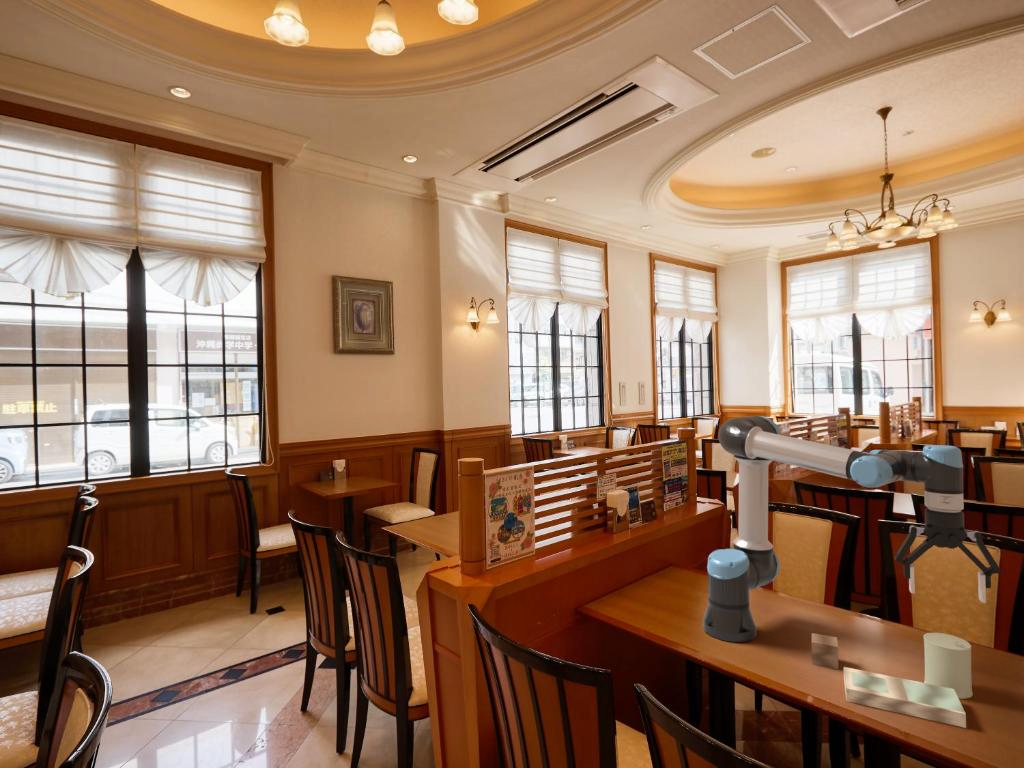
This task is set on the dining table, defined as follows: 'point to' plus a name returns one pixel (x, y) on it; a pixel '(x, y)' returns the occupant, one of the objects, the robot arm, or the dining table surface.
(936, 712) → the board
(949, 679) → the can
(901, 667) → the dining table surface
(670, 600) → the dining table surface
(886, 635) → the dining table surface
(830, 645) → the cube
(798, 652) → the dining table surface
